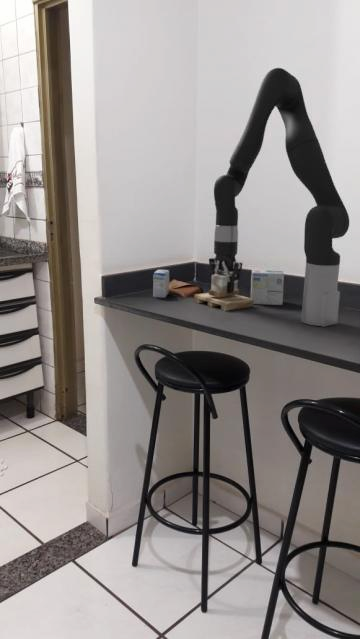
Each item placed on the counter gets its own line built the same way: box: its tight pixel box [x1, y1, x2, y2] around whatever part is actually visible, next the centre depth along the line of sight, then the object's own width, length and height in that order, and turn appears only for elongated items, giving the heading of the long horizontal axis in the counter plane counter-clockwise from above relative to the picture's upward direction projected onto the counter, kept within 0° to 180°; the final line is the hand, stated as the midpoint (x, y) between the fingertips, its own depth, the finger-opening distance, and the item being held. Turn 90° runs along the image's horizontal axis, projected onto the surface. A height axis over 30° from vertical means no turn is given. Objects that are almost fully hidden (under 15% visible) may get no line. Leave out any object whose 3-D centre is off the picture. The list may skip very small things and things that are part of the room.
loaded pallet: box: [208, 272, 240, 297], centre depth 169 cm, size 5×9×6 cm, turn 128°
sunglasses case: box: [168, 278, 204, 299], centre depth 188 cm, size 18×7×7 cm
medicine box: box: [152, 269, 170, 299], centre depth 182 cm, size 8×4×9 cm, turn 172°
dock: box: [193, 292, 254, 312], centre depth 170 cm, size 16×12×2 cm
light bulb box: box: [250, 269, 285, 306], centre depth 173 cm, size 11×7×11 cm, turn 84°
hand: (224, 291), depth 169 cm, fingers closed on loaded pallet, 5 cm apart
